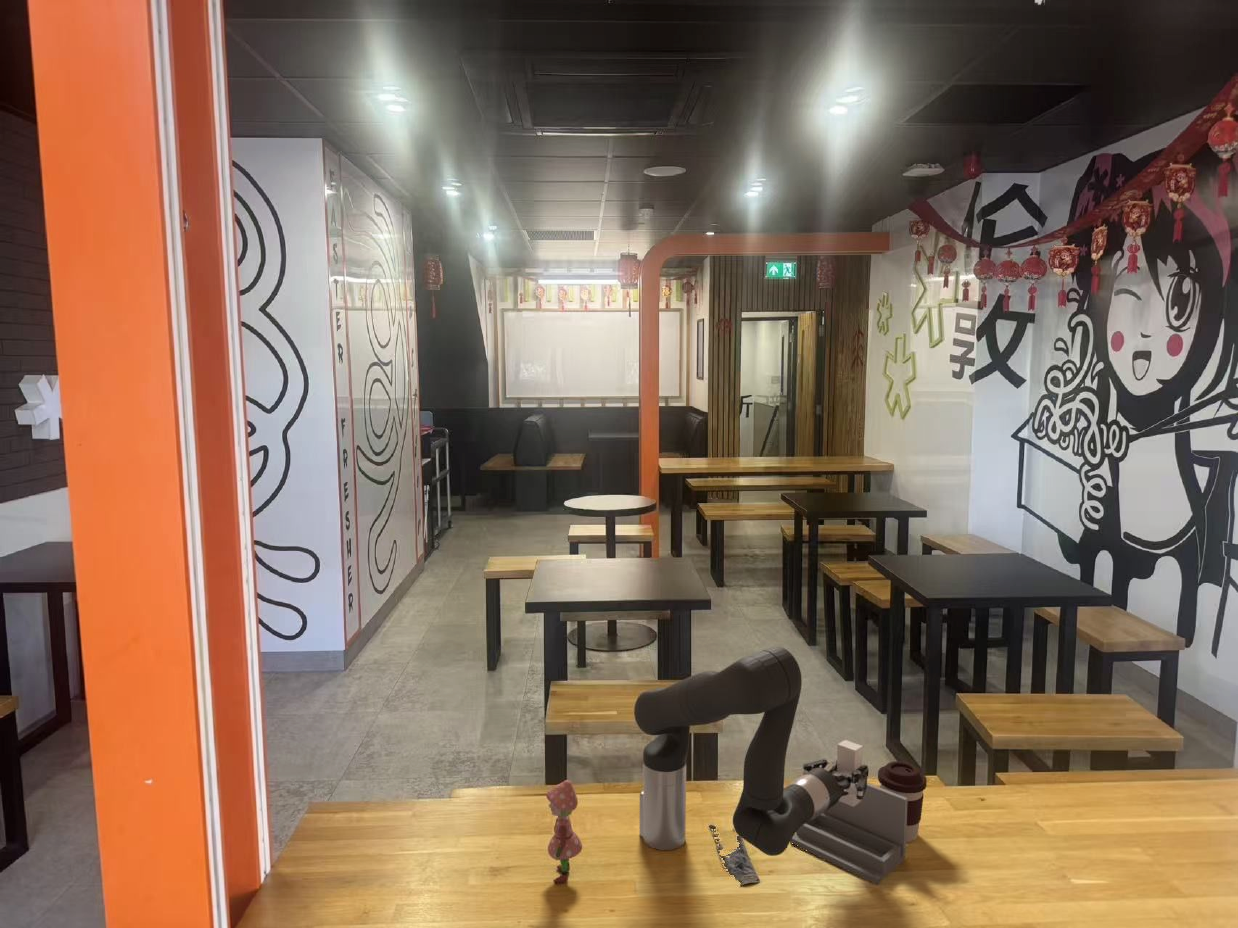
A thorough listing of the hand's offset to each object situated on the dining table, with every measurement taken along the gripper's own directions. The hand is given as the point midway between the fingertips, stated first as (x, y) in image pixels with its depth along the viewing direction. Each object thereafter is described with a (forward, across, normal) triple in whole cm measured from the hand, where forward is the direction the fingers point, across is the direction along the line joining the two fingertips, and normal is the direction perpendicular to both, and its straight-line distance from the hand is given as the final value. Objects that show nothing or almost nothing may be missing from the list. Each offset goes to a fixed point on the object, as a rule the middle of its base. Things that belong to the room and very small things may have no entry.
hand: (855, 765), depth 164 cm
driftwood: (-20, +16, +19) cm, 32 cm away
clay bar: (-3, 0, +7) cm, 7 cm away
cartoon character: (-51, +35, +18) cm, 64 cm away
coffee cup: (+12, -5, +18) cm, 22 cm away
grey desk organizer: (-2, 0, +18) cm, 18 cm away
